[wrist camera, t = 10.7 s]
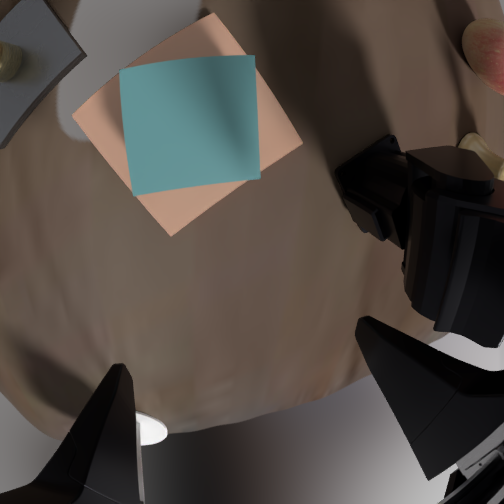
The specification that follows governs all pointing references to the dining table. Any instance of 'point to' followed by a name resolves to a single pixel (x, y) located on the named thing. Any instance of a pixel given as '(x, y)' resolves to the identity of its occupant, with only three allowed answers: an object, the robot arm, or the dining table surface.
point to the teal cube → (190, 122)
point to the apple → (486, 51)
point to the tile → (112, 133)
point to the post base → (31, 61)
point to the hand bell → (484, 154)
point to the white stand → (147, 441)
